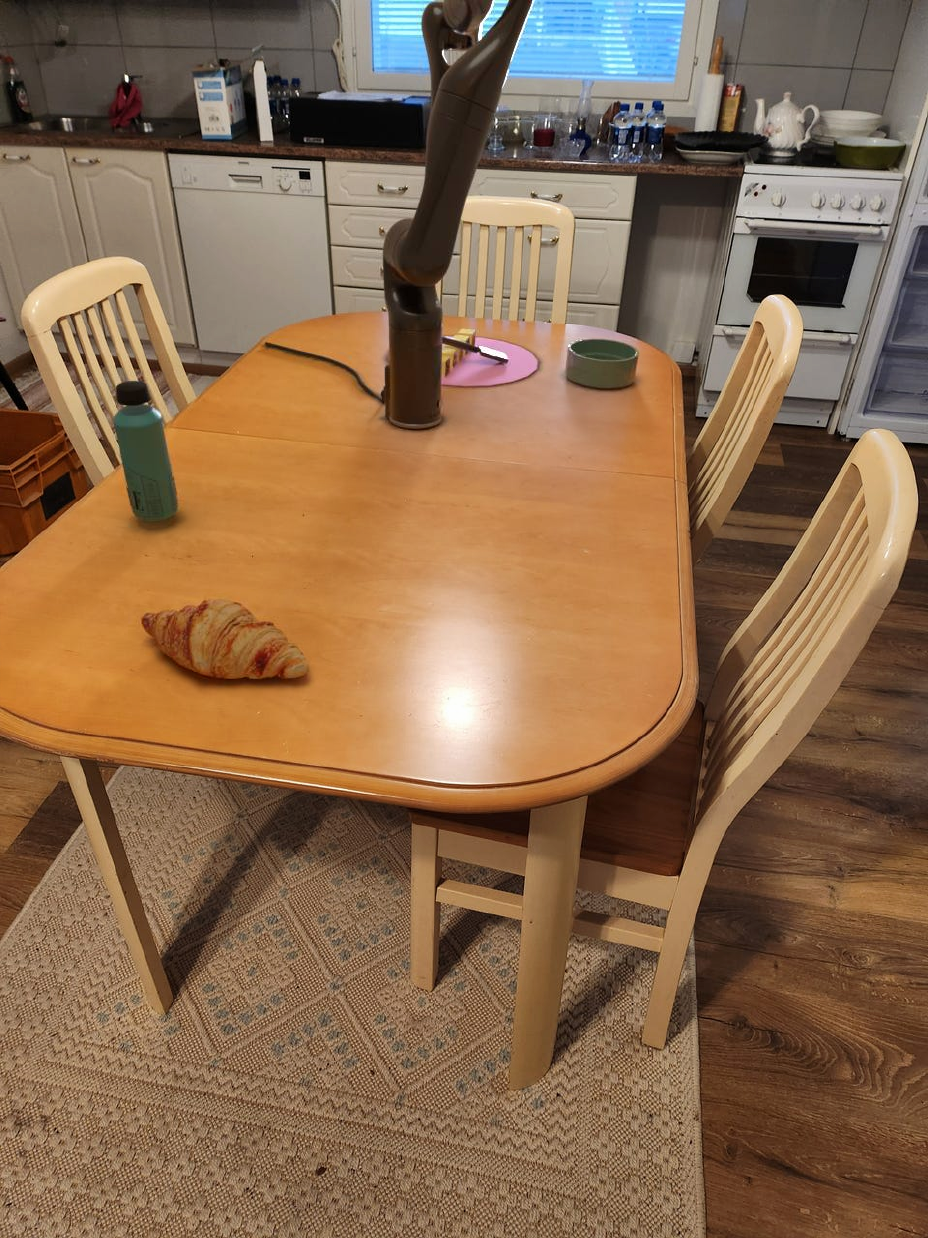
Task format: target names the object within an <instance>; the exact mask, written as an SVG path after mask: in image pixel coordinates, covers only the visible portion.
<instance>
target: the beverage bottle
mask: <svg viewBox="0 0 928 1238" xmlns="http://www.w3.org/2000/svg"><path fill="white" fill-rule="evenodd" d="M115 394H116V403H117V404H119V405H121V406H123V407H120V409H119V410H118V411H117V412H116V413H115V414H114V416H113V418H112V424H113V425H114V426H113V427H114V431H115V435H116V439H117V445H118V449H119V451H117V452H118V454H119V455H118V456H119V458H120V460H121V464H122V469H123V475H124V478H123V479H124V482H125V484H126V486H125V488H126V492H127V498H128V503H129V505H130V510H131V512H132V513H133V515H134V516H135V517H136V519H139V520H141V521H144V522H158V521H163V520H167V519H169V518H172V517H174V515H176V514H177V512H178V510H179V506H180V504H179V503H180V502H179V498H178V491H177V486H176V481H175V477H174V476H175V474H174V472H173V466H172V462H171V457H170V454H169V450H168V444H167V438H166V433H165V429H164V427H165V426H164V422H163V414H162V413H161V412H160V411H159V410H157V409H156V408H155V407H153V406H152V405H150V404H147V403H148V402H150V401H151V395H150V393H149V389H148V385H147V383H146V382H144V381H140V380H127V381H123V382H119V383H118V384H117V385H116V386H115Z"/></svg>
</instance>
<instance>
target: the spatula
mask: <svg viewBox="0 0 928 1238" xmlns="http://www.w3.org/2000/svg"><path fill="white" fill-rule="evenodd" d="M442 344H446V345H449V346H452V347H456V348H459V349H462V350H466V351H469V352H472V353H478V352H479V353H480V355H481V356H483V357H486V358H490V359H493V360H497V361H500V362H503V363H508V358H507V357H506V355H505V354H504V353H501V352H497V351H494V350H491V349H487V348H484V347H481V346H475V345H472V344H468V343H465V342H462V341H459V340H455V339H452V338H449V337H446V336H445V335H442Z"/></svg>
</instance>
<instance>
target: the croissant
mask: <svg viewBox="0 0 928 1238" xmlns="http://www.w3.org/2000/svg"><path fill="white" fill-rule="evenodd" d="M140 622H141V626H142V627H143V630H144V631H145V633H147V634H148V635H149V636H151V637H152V638H153V640H154V642H155V644H156V645H155V646H157V648H158V649H159V650H160V651H161V652H163V654H165V655H167V656H168V657H169V658H171V659H172V660H173V661H174V662H175V663H177V664H178V665H179V666H181V667H182V668H183V667H184V668H185V669H187V670H190V671H192V672H194V673H195V672H196V673H198V674H199V675H203V676H208V677H211V678H215V679H229V680H230V679H231V680H232V679H243V678H248V680H249V679H250V680H262V679H266V678H270V679H271V678H273V677H278V678H281V679H295V678H300V677H303V676H304V675H306V674H308V672H309V671H310V664H309V662H307V659H306V657H305V656H304V653H303V651H301V649H300V647H299V646H298V645H297V644H296V643H292V642H290V641H289V640H288V637H287V636H286V635H285V633H284V632H283V630H282V629H280V628H278V627H276V626H275V624H274V622H272V621H259V619H258V618H257V617H256V616H254V614H253V612H251V610H249V609H248V608H246V607H245V606H243V605H242V603H241V602H238V601H234V600H230V599H229V600H227V599H221V598H217V599H216V598H215V599H211V598H209V599H207V600H206V599H204V600H202V602H201V603H200V604H199V605H198V606H197V605H193V604H189V605H186V606H184V607H182V608H181V609H180V610H179V611H178V610H175V609H165V610H164V609H163V610H161V611H159V612H157V613H153V612H146V613H145V614H144V615H143V616H141V621H140Z"/></svg>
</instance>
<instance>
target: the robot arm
mask: <svg viewBox="0 0 928 1238" xmlns="http://www.w3.org/2000/svg"><path fill="white" fill-rule="evenodd" d="M494 2H495V0H443V1H431V2H429V3H428V4H427V5H426V6H425V7H424V10H423V12H422V14H421V15H422V16H421V20H420V23H421V25H420V26H421V33H422V38H423V42H424V47H425V50H426V51H425V52H426V55H427V61H428V66H429V73H430V74H429V75H430V109H429V110H430V111H429V118H428V123H427V129H426V138H425V164H424V165H425V167H424V169H425V170H424V180H423V186H422V190H421V195H420V197H419V200H418V204H417V207H416V210H415V213H414V216H413V218H411V217H409V218H408V217H407V218H403V219H400V220H398V221H396V222H395V223H393V225H392V226H391V227H390V228H389V229H388V230H387V232H386V235H385V237H384V241H383V246H382V276H383V277H382V278H383V279H382V281H383V297H384V303H385V308H386V311H387V315H388V317H387V319H388V357H389V358H388V364H387V365H385V366H384V386H383V389H382V390H381V391H380V396H378V395H377V394H376V393H374V391H372V390H371V389H370V388H369V387H368V386H367V385H366V384H365V383H364V382H363V381H362V379H361V377H360V374H359V373H358V372H357V371H356V370H355V369H353V368H352V367H350V366H349V365H346V364H345V363H343V362H340V361H338V360H335V359H333V358H329V357H327V356H324V355H320V354H316V353H312V352H308V351H307V352H306V351H302V350H299V349H294V348H290V347H286V346H283V345H279V344H275V343H271V342H268V341H265V342H264V346H266V347H270V348H273V349H277V350H281V351H285V352H289V353H292V354H296V355H300V356H305V357H309V358H312V359H313V358H314V359H317V360H321V361H324V362H327V363H330V364H334V365H336V366H338V367H340V368H343V369H345V370H346V371H348V372H349V373H351V374H352V375H353V376H354V377H355V379H356V381H357V383H358V385H360V387H361V388H362V389H363V390H364V391H365V392H366V393H367V394H368V395H370V396H371V397H373V398H375V399H377V400H378V401H380V402H381V403H384V411H385V412H384V418H385V419H388V420H389V422H390V423H391V424H392V425H394V426H396V427H400V428H403V429H409V430H424V429H430V428H432V427H435V426H437V425H440V423H441V422H442V405H443V402H444V398H443V396H442V385H441V379H442V336H443V329H444V328H443V325H444V323H443V322H444V310H443V307H442V304H441V302H440V299H439V296H438V293H437V287H436V285H437V284H438V283H440V282H441V281H442V279H443V278H444V277H445V276H446V274H447V272H448V270H449V268H450V265H451V264H452V263H451V262H452V260H453V256H454V252H455V247H456V243H457V238H458V234H459V229H460V225H461V222H462V221H461V220H462V216H463V212H464V210H465V209H464V208H465V205H466V202H467V198H468V195H469V192H470V189H471V186H472V184H473V181H474V178H475V175H476V172H477V169H478V166H479V162H480V160H481V157H482V153H483V150H484V148H485V146H486V142H487V140H488V137H489V134H490V131H491V128H492V125H493V122H494V119H495V116H496V113H497V110H498V107H499V103H500V99H501V96H502V93H503V89H504V86H505V84H506V80H507V76H508V73H509V71H510V68H511V64H512V61H513V57H514V54H515V52H516V49H517V46H518V43H519V42H520V41H519V40H520V38H521V35H522V33H523V30H524V28H525V25H526V23H527V20H528V18H529V14H530V11H531V10H532V7H533V4H534V2H535V0H508V2H507V4H506V6H505V8H504V9H503V10H502V13H501V14H500V16H499V18H498V19H497V20H496V22H495V23H494V24H493V25H492V26H491V27H490V29H489V30H488V31H487V32H486V33H485V34H484V35H483V36H482V32H483V23H484V22H485V20H486V19H487V18H488V17H489V14H490V13H491V11H492V9H493V6H494ZM444 51H445V52H464V53H463V54H462V55H461V56H460V57H458V58H457V59H456V60H455V61H454V62H453V63H452V64H449V63H448V62H447V60H446V58H445V55H444Z"/></svg>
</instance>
